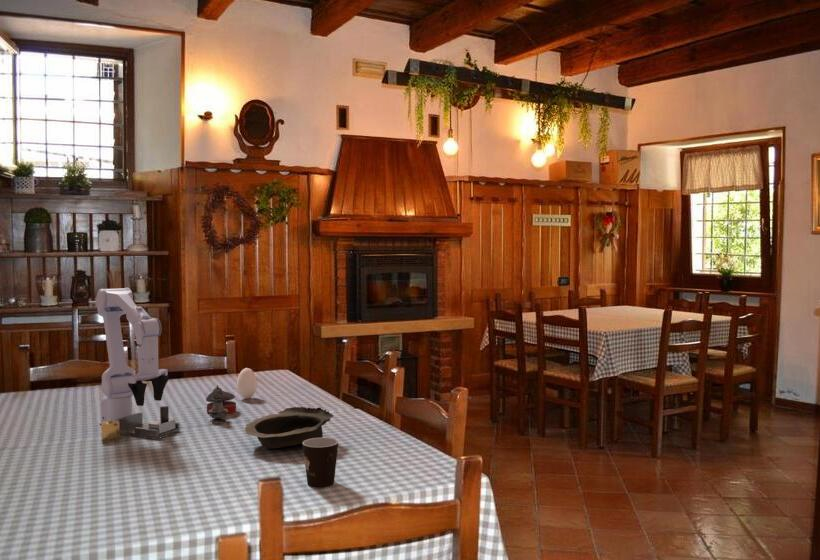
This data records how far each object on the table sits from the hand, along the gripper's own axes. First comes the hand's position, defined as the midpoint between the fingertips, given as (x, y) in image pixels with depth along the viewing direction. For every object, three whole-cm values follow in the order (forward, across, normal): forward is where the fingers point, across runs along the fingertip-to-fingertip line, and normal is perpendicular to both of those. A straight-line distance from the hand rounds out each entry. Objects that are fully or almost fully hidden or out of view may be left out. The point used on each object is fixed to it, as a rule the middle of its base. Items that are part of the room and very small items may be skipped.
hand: (149, 402), depth 214 cm
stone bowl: (+10, +5, -45) cm, 47 cm away
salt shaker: (+10, +22, -9) cm, 26 cm away
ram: (+9, +2, -3) cm, 9 cm away
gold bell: (+10, -8, +8) cm, 15 cm away
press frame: (+10, +2, +4) cm, 11 cm away
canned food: (+10, +33, -2) cm, 35 cm away
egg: (+10, +55, +2) cm, 56 cm away
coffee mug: (+10, -22, -71) cm, 75 cm away
